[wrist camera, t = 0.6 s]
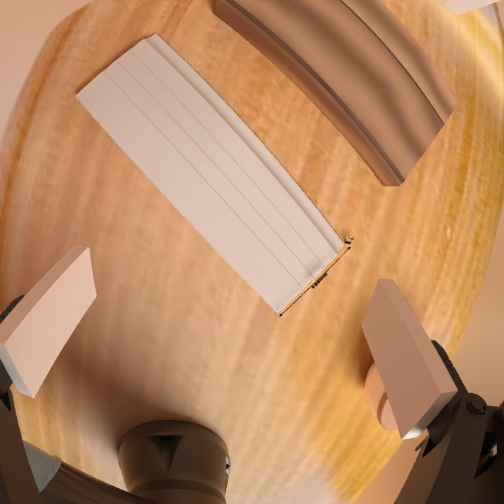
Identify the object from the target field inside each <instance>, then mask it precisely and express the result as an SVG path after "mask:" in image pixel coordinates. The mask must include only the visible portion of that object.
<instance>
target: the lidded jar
mask: <svg viewBox="0 0 504 504" xmlns="http://www.w3.org/2000/svg"><path fill="white" fill-rule="evenodd" d="M364 394H365V399H366V402H367V405H368V407H369V409H370V410H371V412H372V414H373V415H374V416H375V417H376V418H377V419H378V421H379V423H380V424H381V425H382V426H383V427H384V428H385V429H387V430H393V431H395V430H398V427H397V423H396V420H395V417H394V414H393V411H392V408H391V406H390V403H389V400H388V397H387V394H386V391H385V388H384V386H383V383H382V380H381V377H380V374H379V372H378V369H377V366H376V364H375V362H374V363H373V364H372V365H371V367H370V368H369V370H368V372H367V376H366V382H365V387H364Z"/></svg>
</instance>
